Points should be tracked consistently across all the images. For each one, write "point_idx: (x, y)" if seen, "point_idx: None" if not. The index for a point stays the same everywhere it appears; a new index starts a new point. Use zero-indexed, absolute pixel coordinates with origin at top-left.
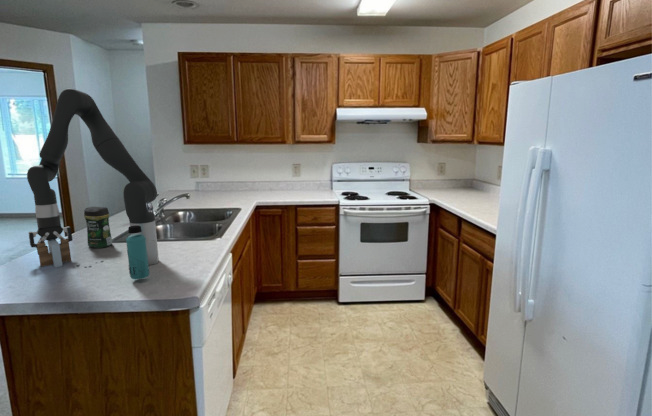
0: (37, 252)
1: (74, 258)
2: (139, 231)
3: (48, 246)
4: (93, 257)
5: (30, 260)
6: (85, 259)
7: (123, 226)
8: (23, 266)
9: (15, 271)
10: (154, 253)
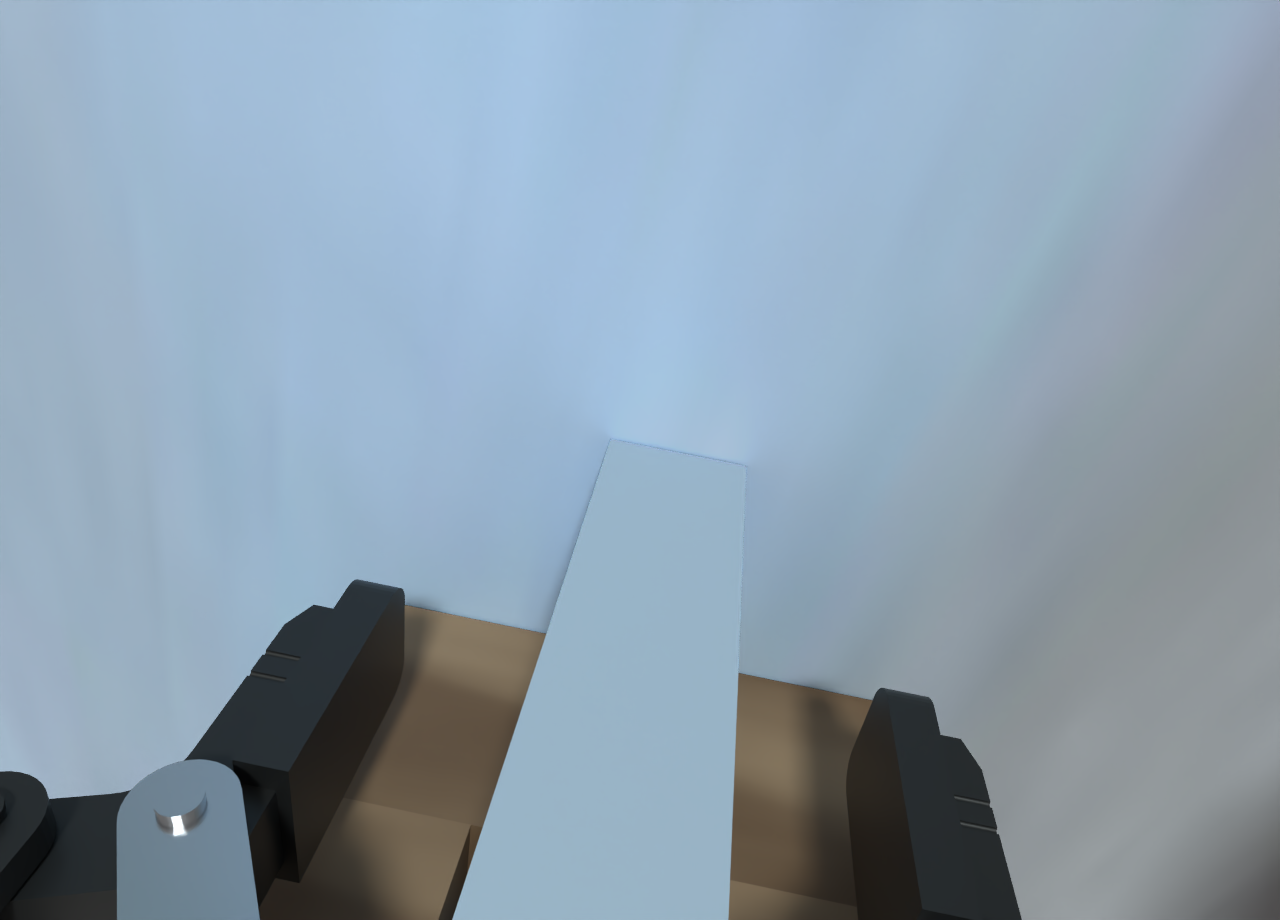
0: (266, 658)
1: (961, 704)
2: None
3: (526, 708)
4: (1178, 885)
5: (248, 72)
6: (1028, 874)
7: None
8: (135, 441)
9: (48, 602)
10: None
